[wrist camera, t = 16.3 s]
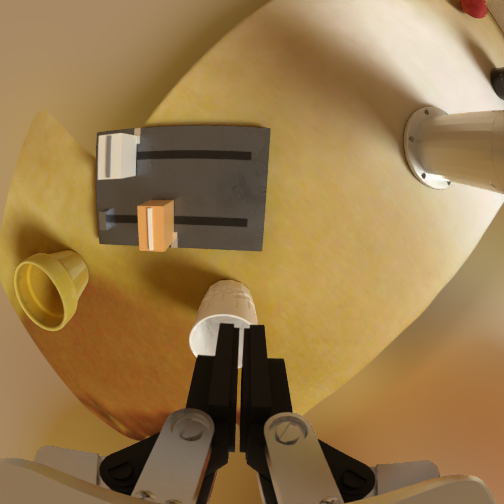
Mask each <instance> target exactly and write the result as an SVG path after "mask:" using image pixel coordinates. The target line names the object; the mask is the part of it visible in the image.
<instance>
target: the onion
mask: <svg viewBox="0 0 504 504" xmlns="http://www.w3.org/2000/svg"><path fill="white" fill-rule="evenodd" d="M460 4H461V7H462V10H463V12H465V13H467V14H468V15H470V16H472V17H474V18H483V17H485V15H486V14H487V5H486V4H487V0H460Z"/></svg>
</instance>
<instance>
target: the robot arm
mask: <svg viewBox="0 0 504 504" xmlns="http://www.w3.org/2000/svg"><path fill="white" fill-rule="evenodd" d="M404 150H405V155H406V159H407V162H408V165H409V167H410V169H411V171H412V172H413V174H414V175H415V177H416V178H417V179H418V180H419V181H420V182H421V183H422V184H424V185H425V186H427V187H430V188H433V189H438V190H440V189H446V188H449V187H450V186H452V185H453V184H454V183H460V184H464V185H469V186H473V187H478V188H482V189H486V190H490V191H494V192H498V193H501V194H504V110H496V111H481V112H468V113H458V114H447V113H446V112H445V111H443V110H441V109H440V108H436V107H423V108H420V109H418V110H416V111H415V112H414V113H413V114H412V115H411V116H410V118H409V119H408V122H407V124H406V127H405V131H404ZM239 330H240V328H235V327H234V324H230V323H220V325H219V332H218V338H217V345H216V352H215V356H209V355H198V356H197V359H196V363H195V368H194V372H193V377H192V381H191V386H190V390H189V395H188V400H187V404H186V408H185V409H180V410H177V411H175V412H173V413H172V414H171V415H170V416H169V417H168V418H167V420H166V422H165V424H164V426H163V428H162V430H161V432H159V433H157V434H155V435H153V436H151V437H149V438H146V439H144V440H142V441H140V442H138V443H136V444H133V445H131V446H129V447H127V448H124V449H122V450H120V451H118V452H115V453H113V454H110V455H109V456H107V457H105V456H99V454H97V453H89V452H83V451H76V450H70V449H65V448H60V447H55V446H44V447H41V448H40V449H39V450H38V451H37V453H36V455H35V459H34V462H33V461H30V460H25V459H19V458H3V459H0V504H209V502H210V498H211V494H212V491H213V487H214V483H215V480H216V476H217V472H218V469H219V468H221V467H222V466H224V465H225V464H227V463H228V455H229V452H235V431H236V406H237V379H238V354H239ZM240 452H246V460H247V464H248V465H250V466H251V467H252V468H253V469H254V470H256V476H257V480H258V485H259V489H260V493H261V498H262V502H263V504H497V503H496V501H495V499H494V497H493V495H492V493H491V492H490V490H489V488H488V487H487V486H486V484H485V483H484V482H483V481H482V480H481V479H479V478H478V477H476V476H473V475H464V474H457V475H448V476H441V477H440V474H439V470H438V468H437V466H436V465H435V464H434V463H432V462H430V461H415V462H406V463H394V464H377V465H376V466H375V467H368V466H367V465H365V464H363V463H362V462H360V461H358V460H356V459H353V458H352V457H350V456H348V455H346V454H344V453H342V452H340V451H338V450H337V449H335V448H333V447H331V446H330V445H328V444H326V443H324V442H322V441H321V440H319V439H317V437H316V435H315V432H314V430H313V427H312V425H311V424H310V422H309V421H308V420H307V419H306V418H305V417H303V416H301V415H299V414H296V413H293V412H292V405H291V399H290V393H289V387H288V381H287V374H286V368H285V362H284V359H273V358H267V349H266V338H265V327H264V325H250V328H244V339H243V356H242V374H241V409H240Z"/></svg>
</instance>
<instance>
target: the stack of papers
mask: <svg viewBox="0 0 504 504" xmlns="http://www.w3.org/2000/svg"><path fill="white" fill-rule="evenodd" d="M486 5H487V8H488V10H489V11H490V12H491V14H492V15H493V17H494V18H495V20H496V21H497V23H498V25H499V26H500V28H501V29H502V31H503V33H504V0H487V4H486Z"/></svg>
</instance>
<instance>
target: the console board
mask: <svg viewBox="0 0 504 504" xmlns="http://www.w3.org/2000/svg"><path fill="white" fill-rule="evenodd" d="M117 133H125V134H130V135H135V136H137V147H136V176H132V177H127V178H122V179H103V180H98V142H99V136H100V135H108V134H117ZM269 143H270V128H258V127H240V126H164V127H147V128H134V129H123V130H115V131H106V132H98V133H97V146H96V201H97V219H98V232H99V242H100V244H112V245H134V246H139V234H138V210H137V206H138V205H141V204H143V203H145V202H147V201H149V200H174V241H173V242H172V243H171V245H170V246H169V247H172V248H177V247H179V248H201V249H223V250H245V251H262V244H263V231H264V217H265V203H266V189H267V174H268V159H269Z"/></svg>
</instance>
